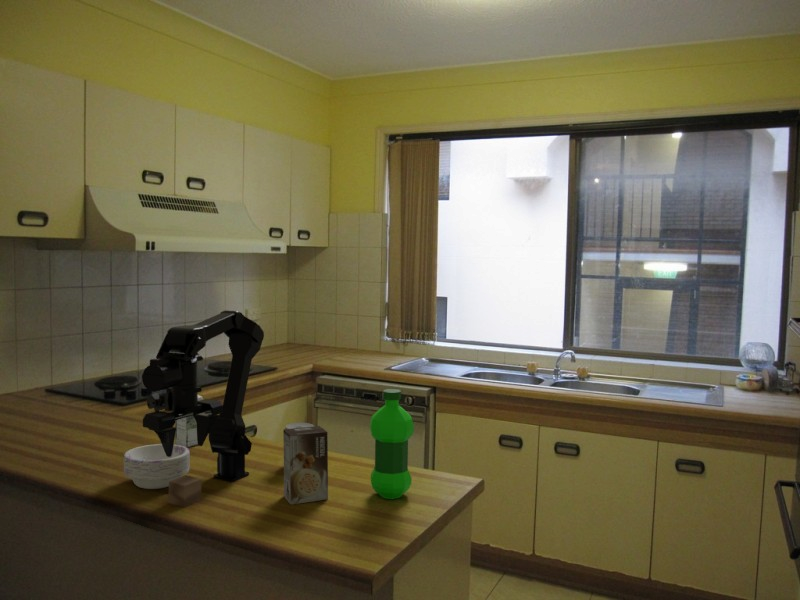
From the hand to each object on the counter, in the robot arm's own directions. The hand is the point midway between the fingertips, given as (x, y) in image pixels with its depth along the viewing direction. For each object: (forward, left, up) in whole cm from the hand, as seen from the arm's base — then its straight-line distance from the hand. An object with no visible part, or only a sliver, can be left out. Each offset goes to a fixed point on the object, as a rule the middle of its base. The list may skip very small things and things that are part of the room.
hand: (184, 450), depth 149 cm
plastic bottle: (-38, -28, -12) cm, 49 cm away
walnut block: (0, 0, -12) cm, 12 cm away
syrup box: (+33, -32, -12) cm, 47 cm away
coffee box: (-22, -16, -12) cm, 30 cm away
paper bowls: (+15, -5, -12) cm, 20 cm away
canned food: (-7, -33, -12) cm, 36 cm away
